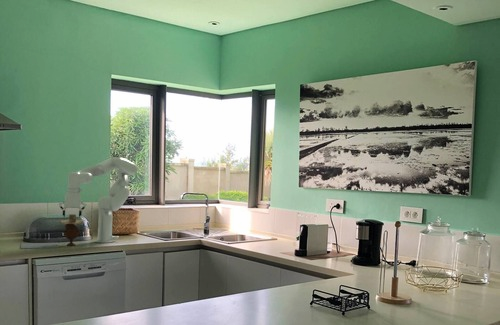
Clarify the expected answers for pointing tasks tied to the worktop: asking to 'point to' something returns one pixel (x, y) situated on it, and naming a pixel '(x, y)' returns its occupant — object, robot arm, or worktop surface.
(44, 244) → the pale grey flat board
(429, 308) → the worktop surface
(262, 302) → the worktop surface
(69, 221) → the walnut lid
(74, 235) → the ice cream bowl
